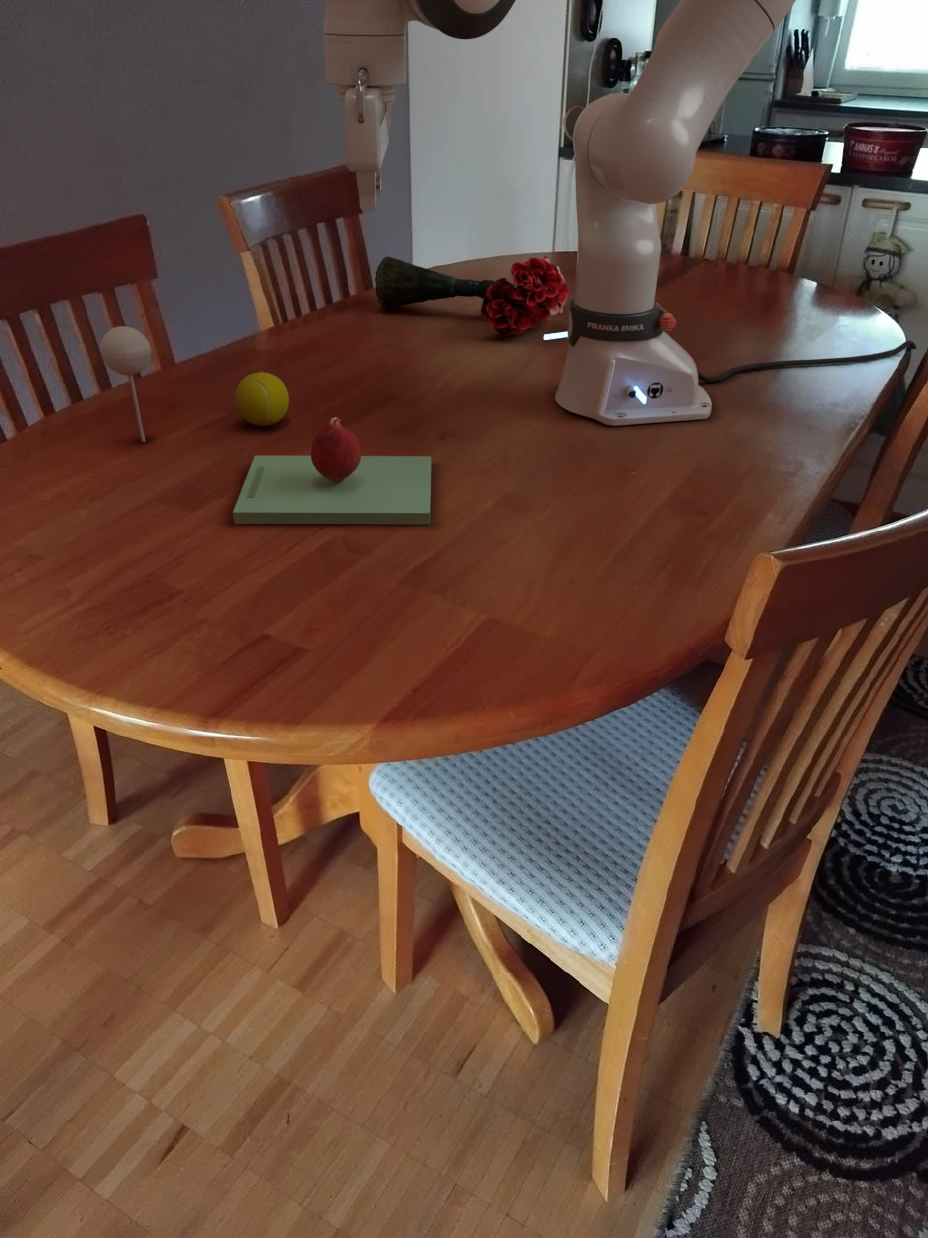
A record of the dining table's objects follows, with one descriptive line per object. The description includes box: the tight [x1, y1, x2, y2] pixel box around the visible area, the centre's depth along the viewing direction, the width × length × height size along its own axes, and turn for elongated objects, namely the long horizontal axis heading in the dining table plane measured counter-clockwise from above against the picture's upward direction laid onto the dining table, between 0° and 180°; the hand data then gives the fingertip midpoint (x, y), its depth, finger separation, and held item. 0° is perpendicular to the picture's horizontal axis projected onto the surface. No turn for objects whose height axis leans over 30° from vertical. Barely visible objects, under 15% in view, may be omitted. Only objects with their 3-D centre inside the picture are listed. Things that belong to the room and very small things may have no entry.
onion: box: [310, 416, 362, 483], centre depth 109 cm, size 6×6×8 cm
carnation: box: [374, 255, 570, 338], centre depth 164 cm, size 16×18×35 cm
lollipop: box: [99, 325, 152, 443], centre depth 119 cm, size 6×6×15 cm
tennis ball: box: [234, 371, 290, 427], centre depth 127 cm, size 7×7×7 cm
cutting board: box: [232, 454, 432, 526], centre depth 111 cm, size 22×15×2 cm
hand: (371, 201), depth 110 cm, fingers open, 8 cm apart
